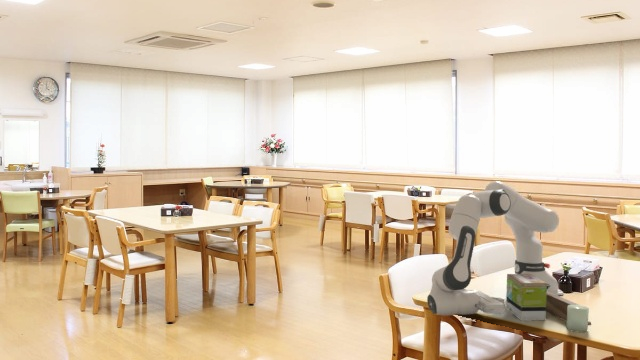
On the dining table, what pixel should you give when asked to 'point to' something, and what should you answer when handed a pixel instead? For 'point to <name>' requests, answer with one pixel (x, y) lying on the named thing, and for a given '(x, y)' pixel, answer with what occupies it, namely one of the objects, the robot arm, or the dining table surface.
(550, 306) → the walnut rail
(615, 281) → the dining table surface
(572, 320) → the mint green canister
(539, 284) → the tea box
